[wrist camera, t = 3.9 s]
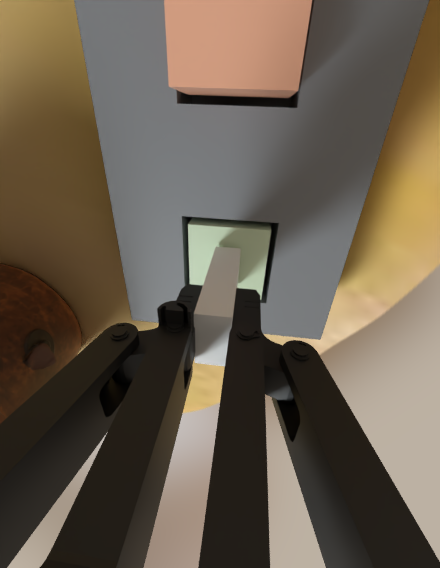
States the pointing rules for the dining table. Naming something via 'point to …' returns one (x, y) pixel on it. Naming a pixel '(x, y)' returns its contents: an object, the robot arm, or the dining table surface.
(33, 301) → the brown tapered container
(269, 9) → the terracotta button
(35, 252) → the dining table surface
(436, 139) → the dining table surface
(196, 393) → the dining table surface
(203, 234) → the sage button
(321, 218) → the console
